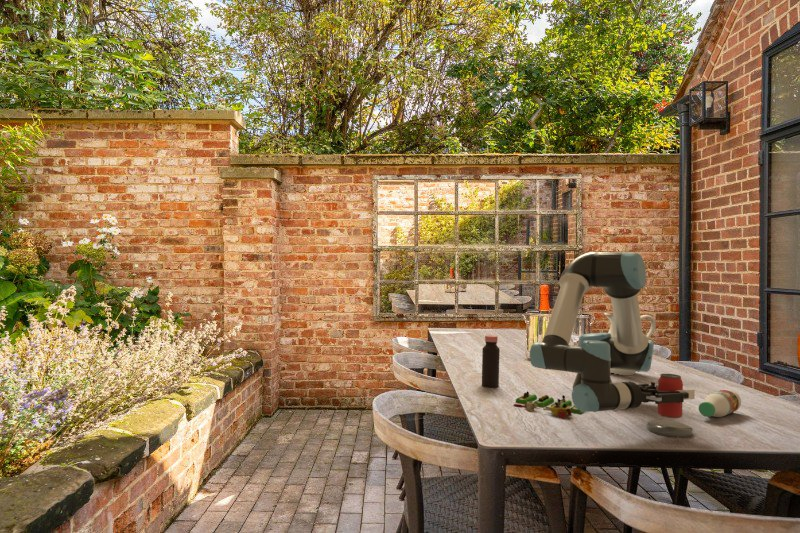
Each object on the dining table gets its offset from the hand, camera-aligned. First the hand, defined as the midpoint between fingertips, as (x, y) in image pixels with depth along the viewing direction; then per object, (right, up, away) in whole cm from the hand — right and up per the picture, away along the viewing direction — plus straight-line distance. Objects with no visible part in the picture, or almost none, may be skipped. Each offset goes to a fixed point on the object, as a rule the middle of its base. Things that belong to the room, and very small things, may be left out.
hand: (682, 391), depth 160 cm
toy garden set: (-35, -12, +22) cm, 43 cm away
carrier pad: (-5, -11, -2) cm, 13 cm away
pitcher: (+21, -12, +88) cm, 91 cm away
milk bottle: (+28, -8, +23) cm, 38 cm away
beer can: (-5, -7, -2) cm, 9 cm away
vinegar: (-49, -11, +54) cm, 74 cm away
